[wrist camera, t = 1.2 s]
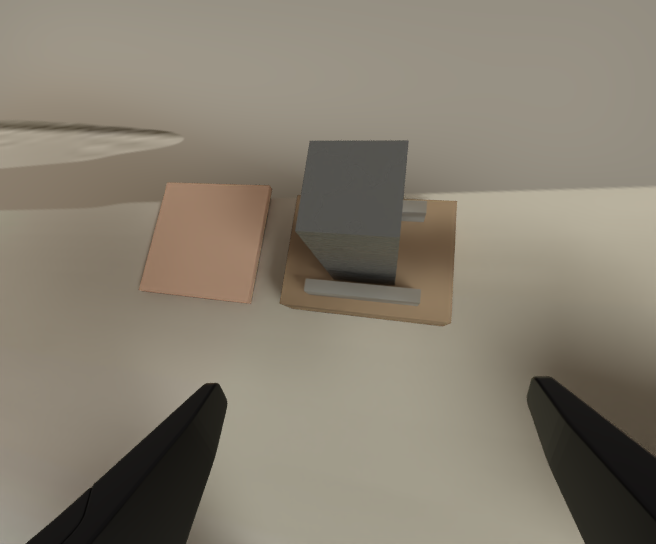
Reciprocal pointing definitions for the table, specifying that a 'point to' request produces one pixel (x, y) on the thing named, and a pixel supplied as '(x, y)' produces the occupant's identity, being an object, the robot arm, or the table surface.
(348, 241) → the dark gray rectangular block
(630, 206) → the table surface
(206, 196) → the rubber mat
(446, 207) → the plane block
